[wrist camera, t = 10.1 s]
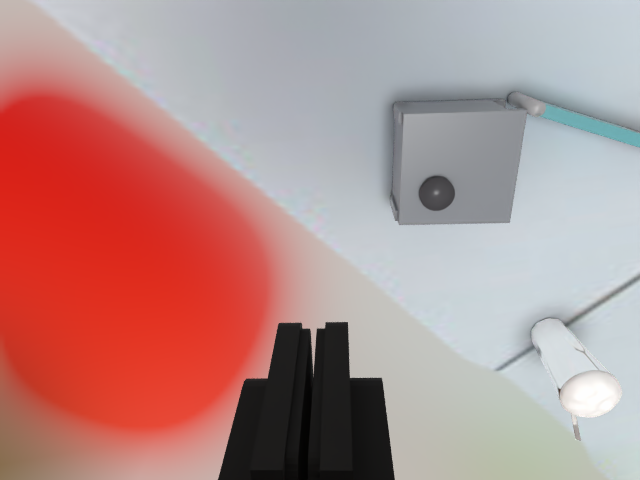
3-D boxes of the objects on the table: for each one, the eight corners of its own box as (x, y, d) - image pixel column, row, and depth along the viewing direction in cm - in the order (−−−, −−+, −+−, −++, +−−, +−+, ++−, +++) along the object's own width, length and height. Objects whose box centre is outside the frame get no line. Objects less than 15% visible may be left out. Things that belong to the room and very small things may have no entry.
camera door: (505, 103, 34) (527, 114, 30) (511, 90, 33) (534, 99, 29) (666, 153, 35) (708, 170, 31) (674, 141, 35) (718, 156, 31)
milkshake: (509, 347, 44) (553, 431, 35) (541, 305, 42) (597, 383, 33) (548, 362, 45) (602, 448, 36) (582, 321, 42) (648, 402, 33)
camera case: (392, 102, 34) (401, 116, 29) (502, 98, 34) (531, 112, 29) (389, 200, 38) (397, 228, 33) (489, 198, 37) (512, 226, 32)
